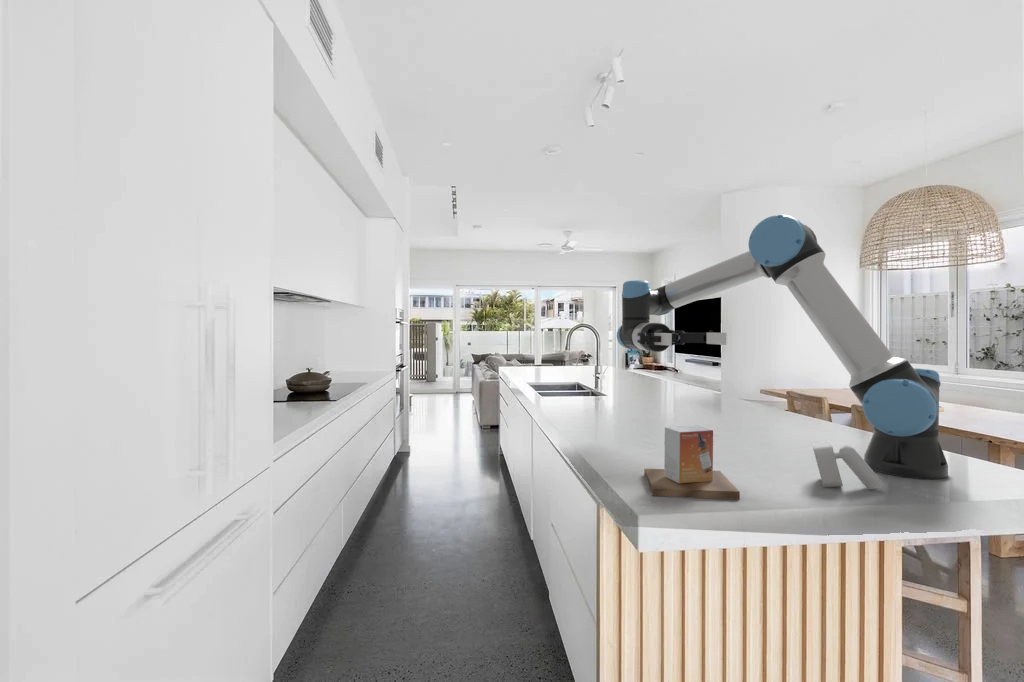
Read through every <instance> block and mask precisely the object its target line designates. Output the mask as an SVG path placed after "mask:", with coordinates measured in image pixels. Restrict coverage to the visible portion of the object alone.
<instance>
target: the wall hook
mask: <svg viewBox="0 0 1024 682" xmlns="http://www.w3.org/2000/svg"><path fill="white" fill-rule="evenodd" d="M811 447H812V449H813V453H814V458H815V462H816V463H817V464H816V465H817V468H818V472H819V475H820V480H821V483H822V487H823V488H831V487H832V488H835V487H843V480H842V478H841V474H840V470H839V467H838V461H837V459H838V460H839V459H842V460H843V462H844V463H845V464H846V465H847V466H848V467H849V469H850V470H851V471H852V473H854V475H855V476H856V478H858V479H859V480H860V482H861V483H862V484H863V485H864V486H865V488H866V489H867V490H868V489H869V490H873V489H876V488H878V487H880V486H881V485H882V483H883V481H882V480H881V478H880V477H879V476H878V475H877V473H876V471H875V470H872V469H871V468H870V467H869V465H868V464H867V463H866V462H865V461H864V458H863V457H862V456H861V455H860V454H859V453H858V451H857V450H856V449H855V448H854V447H852V446H850V445H844V446H841V447H840V448H839V450H838V451H836V452H834V448H833V444H832V442H831V440H830V439H829V440H828V439H827V440H822V441H813V442H811Z"/></svg>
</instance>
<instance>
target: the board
mask: <svg viewBox="0 0 1024 682" xmlns="http://www.w3.org/2000/svg"><path fill="white" fill-rule="evenodd" d="M643 471H644V472H643V474H644V475H645V476H644V475H643V476H644V478H645V480H646V483H647V485H648V488H649V487H650V488H649V490H650V492H651V495H652V496H653V497H662V496H667V497H666V498H670V497H671V498H688V497H696V498H695V499H719V500H722V499H723V500H740V499H741V498H740V494H741V493H740V492H741V491H740V490H739V489H738V488H737V487H736V486H735V485H734V484H733V483H732V482H731V481H730V480H729V479H728V478H727V477H726V476H725V474H724V473H722V471H721V470H713V480H712V481H709V482H690V483H680V484H679V483H677V482H675V481H673V480H671V479H669V478H667V477H665V476H664V468H645V467H644V469H643ZM668 496H669V497H668Z"/></svg>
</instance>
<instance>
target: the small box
mask: <svg viewBox="0 0 1024 682" xmlns="http://www.w3.org/2000/svg"><path fill="white" fill-rule="evenodd" d="M663 460H664V461H663V462H664V466H663V467H664V468H663V469H664V476H665V477H667V478H669V479H671V480H673V481H675V482H677V483H679V484H680V483H690V482H709V481H712V480H713V471H714V470H713V469H714V430H713V429H710V428H708V427H704V426H701V425H697V424H695V425H685V426H673V427H672V426H671V427H670V426H665V427H664V459H663Z"/></svg>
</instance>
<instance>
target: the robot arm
mask: <svg viewBox="0 0 1024 682" xmlns="http://www.w3.org/2000/svg"><path fill="white" fill-rule="evenodd" d="M825 258H826V253H825V251H824V250H823V248H822V247H821V246H820V245H819V243H818V240H817V235H816V234H815V232H814V231H813V230H812V229H811V227H809V226H807V224H804V223H803V222H801V221H800V220H799V219H798V218H796V217H794V216H792V215H787V214H773V215H771V216H768V217H766V218H764V219H762V220H761V221H760V222H759V223H757V225H755V227H754V228H753V229H752V231H751V233H750V236H749V240H748V250H747V251H746V252H742V253H741V254H739V255H738V254H737V255H736V256H733V257H731V258H729V259H725V260H724V261H721V262H719V263H716V264H714V265H711V266H709V267H706V268H703V269H701V270H699V271H696V272H694V273H692V274H688V275H686V276H684V277H682V278H679V279H677V280H675V281H672V282H670V283H666V284H665V285H663V286H660V287H657V288H655V289H652V288H651V285H650V283H649V281H648V280H643V279H642V280H639V279H638V280H635V279H634V280H626V281H624V282H623V284H622V293H621V299H622V300H621V304H622V307H621V308H622V309H621V312H622V314H621V315H622V320H621V326H619V328H618V329H617V331H616V339H617V342H618V344H619V345H620V346H622V348H626V349H628V350H631V351H632V350H633V351H635V350H636V351H644V352H645V353H646V354H648V353H649V352H655V353H661V352H664V351H666V350H667V349H668V348H669V347H671V346H674V345H678V346H679V345H680V346H681V345H685V344H692V343H693V344H707V345H720V346H724V345H725V346H726V345H727V332H715V331H713V329H708V330H709V331H708V332H685V331H684V330H674V329H670V328H669V326H668V325H666V324H664V323H662V322H650V320H651V319H650V316H651V315H652V316H663V315H667V314H669V313H670V312H672V311H673V310H674V309H678V308H680V307H682V306H685V305H687V304H691V303H693V302H696V301H698V300H701V299H705V298H708V297H710V296H713V295H716V294H717V293H720V292H723V291H726V290H729V289H731V288H734V287H737V286H740V285H742V284H745V283H748V282H750V281H753V280H756V279H759V278H762V277H764V278H767V279H770V278H771V279H772V280H773V281H774V283H775V284H777V285H781V286H786V287H787V289H788V290H789V291H790V293H791V295H792V296H793V297H794V298H795V300H796V301H797V302H798V304H799V305H800V306H801V308H802V309H803V311H804V312H805V314H806V315H807V316H808V318H809V319H810V321H811V322H812V323H813V324H814V326H815V328H816V329H817V330H818V332H819V334H820V335H821V336H822V337H823V339H824V340H825V342H826V343H827V345H829V347H830V349H831V350H832V352H834V354H835V356H836V357H837V358H838V360H839V361H840V363H841V364H842V365H843V367H844V368H845V369H846V371H847V372H848V375H850V381H849V384H848V387H849V388H850V390H851V391H852V392H853V394H854V396H855V397H856V399H857V400H858V401H859V403H860V405H861V407H862V412H863V413H864V417H865V418H866V420H867V421H868V423H870V425H872V426H873V434H872V435H871V437H870V438H871V439H870V440H869V441H870V442H869V444H868V445H867V448H866V450H865V453H864V455H863V457H864V458H863V460H864V461H865V462H866V463H867V464H868V465H869V467H870V468H871V469H872V470H873V471H874V472H879V473H883V474H887V475H893V476H897V477H902V478H903V477H904V478H912V479H921V480H922V479H923V480H938V479H944V478H947V477H948V476H949V464H948V462H947V459H946V456H945V454H944V451H943V448H942V446H941V443H940V441H939V426H940V425H939V419H940V418H939V416H940V387H941V385H942V384H941V381H940V374H939V373H938V371H937V370H934V369H930V368H929V369H928V368H927V369H926V368H917V367H916V368H915V367H913V366H912V364H911V363H910V362H909V361H908V359H907V358H903V357H897V356H895V355H894V354H893V353H892V352H891V351H890V350H889V348H888V347H887V346H886V344H885V343H884V341H883V340H882V339H881V338H880V336H879V335H878V334H877V333H876V331H875V330H874V328H872V326H871V324H870V323H869V321H868V320H867V319H866V318H865V316H864V315H863V314H862V312H861V311H860V310H859V309H858V307H857V306H856V305H855V303H854V302H853V300H851V298H850V297H849V295H848V294H847V293H846V291H845V290H844V289H843V288H842V287H841V285H840V283H838V280H836V278H835V277H834V276H833V275H832V273H831V272H830V270H829V269H828V268H827V266H826V265H825V263H824V262H825Z"/></svg>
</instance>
